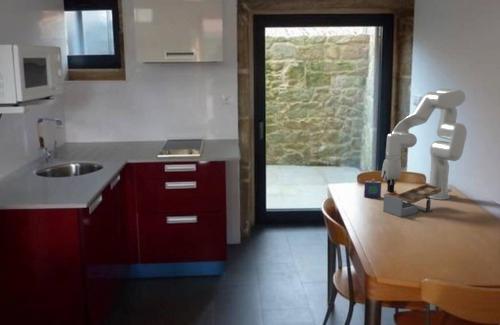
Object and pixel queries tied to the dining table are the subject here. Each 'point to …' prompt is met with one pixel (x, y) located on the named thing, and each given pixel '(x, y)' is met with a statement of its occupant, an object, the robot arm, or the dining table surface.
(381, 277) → the dining table surface
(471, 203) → the dining table surface
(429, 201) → the pivot stand
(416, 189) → the brown flat piece
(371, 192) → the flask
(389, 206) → the cup
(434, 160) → the robot arm
